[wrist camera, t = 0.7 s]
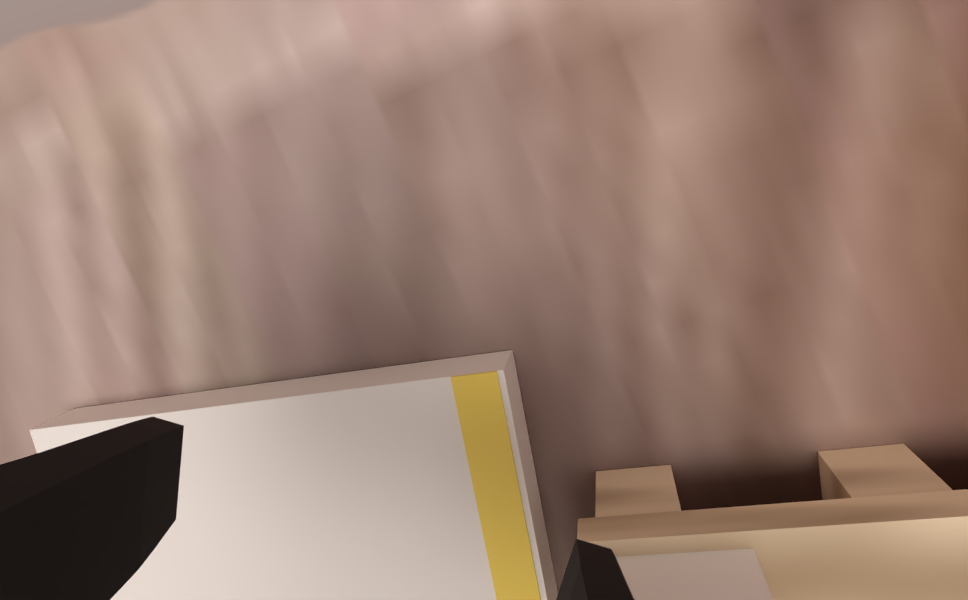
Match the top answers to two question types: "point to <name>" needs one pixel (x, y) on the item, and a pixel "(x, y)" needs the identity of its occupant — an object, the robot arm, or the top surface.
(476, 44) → the top surface
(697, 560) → the greyish beige cube
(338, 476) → the dock
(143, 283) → the top surface
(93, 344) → the top surface
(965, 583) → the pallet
